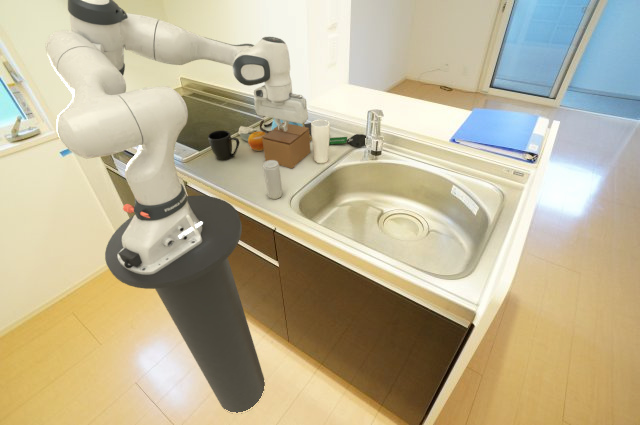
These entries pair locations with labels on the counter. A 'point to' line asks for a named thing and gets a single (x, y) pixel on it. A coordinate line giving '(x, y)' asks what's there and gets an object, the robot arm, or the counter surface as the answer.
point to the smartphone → (308, 127)
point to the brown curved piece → (265, 126)
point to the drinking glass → (320, 140)
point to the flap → (281, 136)
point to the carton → (288, 147)
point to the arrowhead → (246, 130)
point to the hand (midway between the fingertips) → (283, 130)
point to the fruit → (256, 140)
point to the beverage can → (272, 179)
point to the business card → (337, 140)
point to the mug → (222, 144)
